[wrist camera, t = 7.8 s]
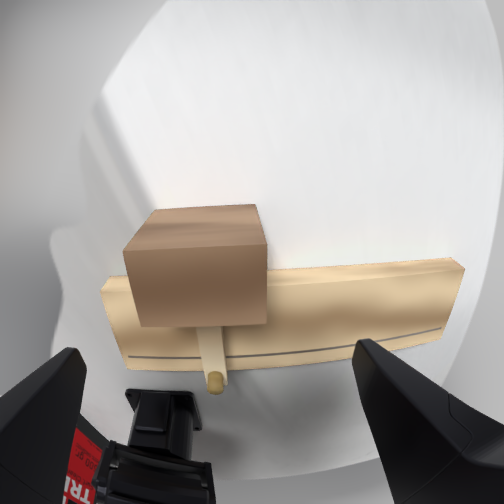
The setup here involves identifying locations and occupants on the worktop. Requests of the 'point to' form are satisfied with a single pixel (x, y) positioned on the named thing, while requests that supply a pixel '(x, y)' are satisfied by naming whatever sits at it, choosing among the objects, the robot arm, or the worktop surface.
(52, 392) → the robot arm
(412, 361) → the worktop surface
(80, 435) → the cleaning product box
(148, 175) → the worktop surface
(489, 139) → the worktop surface
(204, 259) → the brown block with rod
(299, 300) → the board
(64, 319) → the worktop surface
